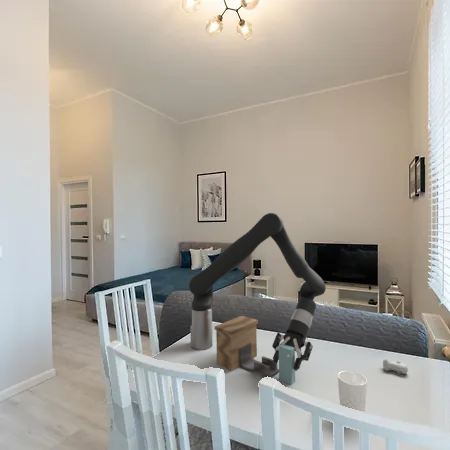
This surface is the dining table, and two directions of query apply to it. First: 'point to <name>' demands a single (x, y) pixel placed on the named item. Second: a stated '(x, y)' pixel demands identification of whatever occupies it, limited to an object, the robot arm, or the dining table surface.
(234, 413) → the dining table surface
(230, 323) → the hinge cabinet
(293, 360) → the tall teal block
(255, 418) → the dining table surface
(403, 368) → the pale two-lobed sculpture
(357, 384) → the white cup
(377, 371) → the dining table surface
